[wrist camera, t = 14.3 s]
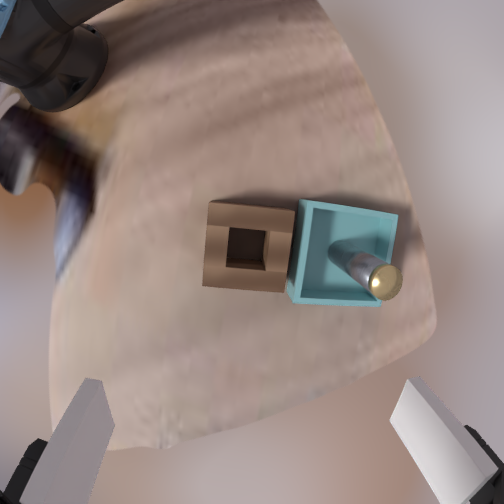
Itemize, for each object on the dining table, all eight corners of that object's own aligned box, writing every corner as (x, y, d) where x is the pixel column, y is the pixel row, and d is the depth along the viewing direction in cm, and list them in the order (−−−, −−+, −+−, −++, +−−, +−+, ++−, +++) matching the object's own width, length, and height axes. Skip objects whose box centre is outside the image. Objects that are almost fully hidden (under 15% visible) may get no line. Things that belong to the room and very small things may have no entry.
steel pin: (329, 238, 39) (376, 264, 26) (352, 241, 39) (405, 267, 26) (325, 263, 40) (368, 300, 26) (348, 265, 40) (398, 300, 27)
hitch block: (211, 200, 38) (209, 202, 33) (287, 208, 39) (295, 211, 34) (205, 274, 40) (202, 285, 35) (277, 280, 41) (283, 292, 36)
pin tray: (299, 198, 39) (307, 200, 34) (382, 211, 40) (398, 214, 36) (286, 291, 41) (293, 303, 37) (367, 295, 43) (380, 306, 38)
